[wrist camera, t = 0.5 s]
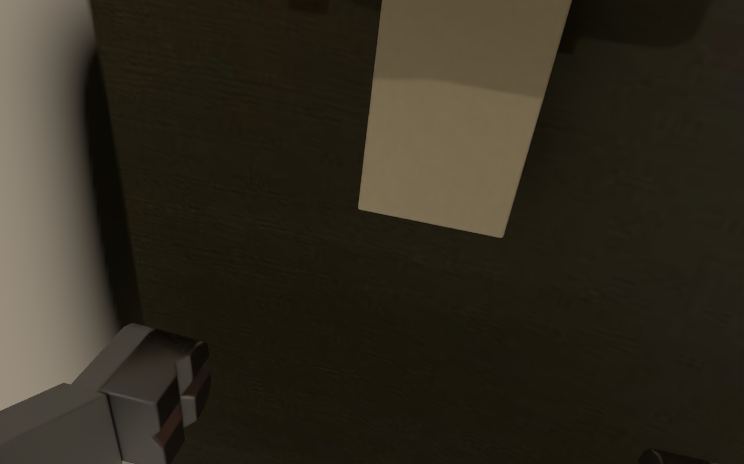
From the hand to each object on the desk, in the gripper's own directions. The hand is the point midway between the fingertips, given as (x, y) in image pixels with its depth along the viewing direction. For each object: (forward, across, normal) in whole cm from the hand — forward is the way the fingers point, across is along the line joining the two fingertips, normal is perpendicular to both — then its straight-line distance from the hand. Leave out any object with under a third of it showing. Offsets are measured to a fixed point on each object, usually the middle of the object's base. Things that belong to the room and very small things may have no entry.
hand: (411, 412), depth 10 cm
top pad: (+14, 0, -2) cm, 15 cm away
